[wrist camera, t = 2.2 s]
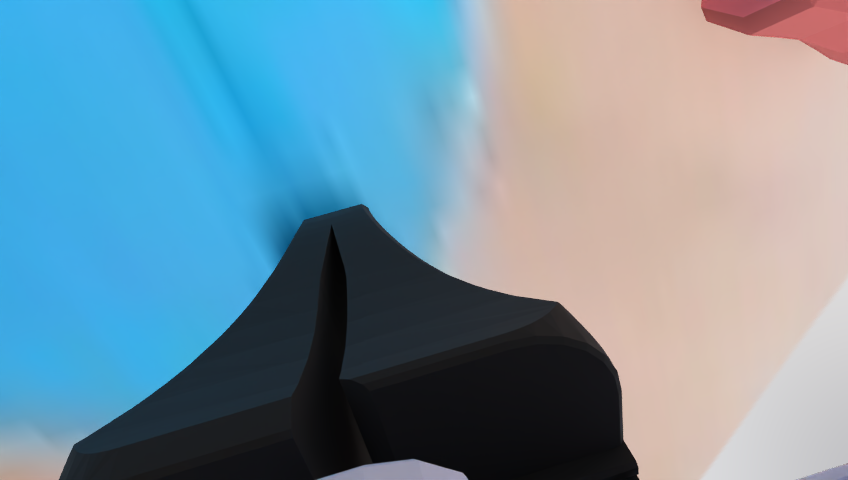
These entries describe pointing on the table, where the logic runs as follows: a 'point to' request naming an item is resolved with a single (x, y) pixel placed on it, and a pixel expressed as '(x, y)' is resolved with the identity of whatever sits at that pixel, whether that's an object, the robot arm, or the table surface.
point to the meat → (787, 21)
